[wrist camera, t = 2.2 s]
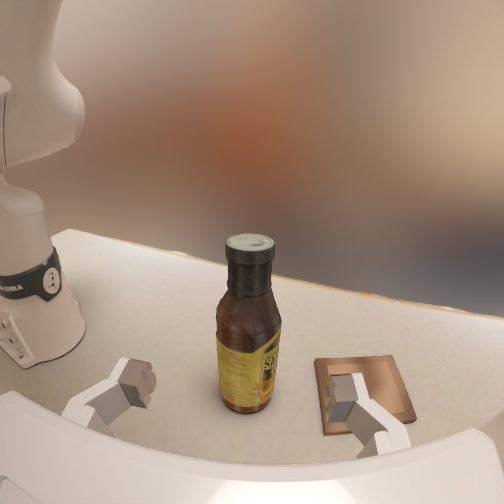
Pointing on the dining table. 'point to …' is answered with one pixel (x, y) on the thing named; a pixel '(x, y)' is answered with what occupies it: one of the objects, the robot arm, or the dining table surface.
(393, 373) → the trivet
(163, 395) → the dining table surface
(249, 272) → the sauce bottle
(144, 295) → the dining table surface
